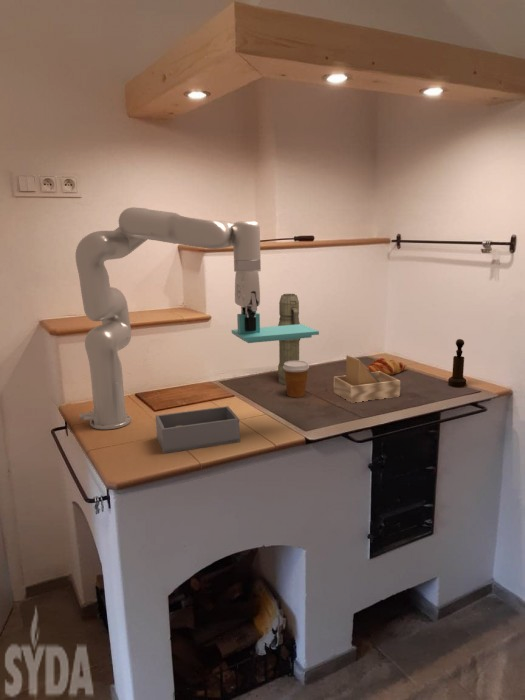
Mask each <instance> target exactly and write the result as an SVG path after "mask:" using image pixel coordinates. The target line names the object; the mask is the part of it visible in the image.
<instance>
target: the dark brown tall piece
mask: <svg viewBox="0 0 525 700" xmlns="http://www.w3.org/2000/svg"><path fill="white" fill-rule="evenodd" d="M455 345H456V348H457V350H456V351H455V352H456V355H454V356H452V357H453V358H452V359H453V361H452V375H451V376H450V377H449V378H448V380H447V385H448V386H450V387H452V388H464V387H467V379H466V378H465V377H464V370H465V369H464V368H465V357H464V356H462V355H463V353H464V351H463V349H462V348H463V347H464V346H465V340H463V339H461V338H458V339H456V340H455Z"/></svg>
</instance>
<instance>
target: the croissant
mask: <svg viewBox="0 0 525 700" xmlns="http://www.w3.org/2000/svg"><path fill="white" fill-rule="evenodd" d="M366 367H367V369H368V370H369V371H370V372H378V371H381V372H383V373H385V374H387V375H389V376H394V375H397V374H398V373H399V374H400V373H401V372H404V371H405V370H407V368H408V366H407V364H404V363H403V362H402V361H400V362H398V361H397V360H395V359H388V358H385V357H380V358H377V359H375V360H374V361H373V362H372V363H370V364H369V365H368V366H366Z"/></svg>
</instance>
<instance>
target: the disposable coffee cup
mask: <svg viewBox="0 0 525 700" xmlns="http://www.w3.org/2000/svg"><path fill="white" fill-rule="evenodd" d="M283 368H284V372H285V380H286V385H285V386H286V392H287V393H286V395H287V396H288V397H289V396H290V398H294V397H298V398H303V397H305V395H306V387H307V380H308V370H309V368H310V366H309V363H308V362H307V361H304V360H299V361H287V362H285V363H284V366H283ZM302 396H303V397H302Z"/></svg>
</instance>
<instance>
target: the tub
mask: <svg viewBox="0 0 525 700" xmlns="http://www.w3.org/2000/svg"><path fill="white" fill-rule="evenodd" d="M155 425H156V426H155V429H156V438H157V441H158V443H159V446H160V449H161V451H162V453H163V455H165V454H170V453H175V452H176V453H177V452H183V451H189V450H196V449H197V450H198V449H203V448H204V449H205V448H209V447H214V446H216V447H217V446H222V445H223V446H224V445H229V444H235V443H240V442H241V429H240V428H241V427H240V426H241V425H240V418H239V416H237V414H236V413H235V412H234V411H233V410H232V409H231V408H230V406H228V405H226V406H218V407H211V408H204V409H203V408H202V409H195V410H186V411H179V412H172V413H164V414H157V415H155Z"/></svg>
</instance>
